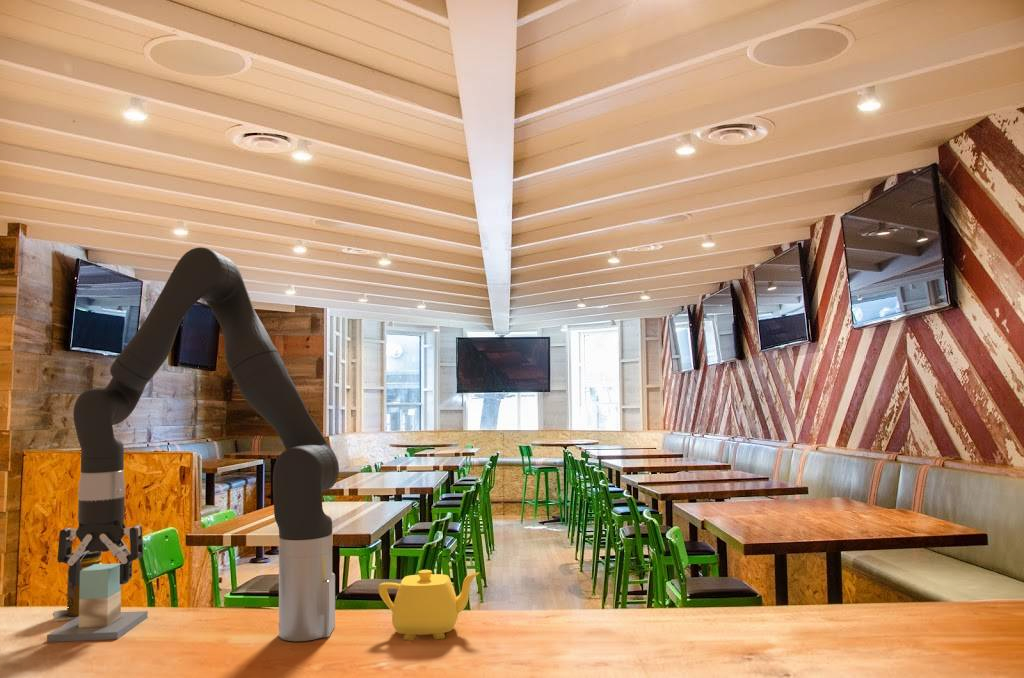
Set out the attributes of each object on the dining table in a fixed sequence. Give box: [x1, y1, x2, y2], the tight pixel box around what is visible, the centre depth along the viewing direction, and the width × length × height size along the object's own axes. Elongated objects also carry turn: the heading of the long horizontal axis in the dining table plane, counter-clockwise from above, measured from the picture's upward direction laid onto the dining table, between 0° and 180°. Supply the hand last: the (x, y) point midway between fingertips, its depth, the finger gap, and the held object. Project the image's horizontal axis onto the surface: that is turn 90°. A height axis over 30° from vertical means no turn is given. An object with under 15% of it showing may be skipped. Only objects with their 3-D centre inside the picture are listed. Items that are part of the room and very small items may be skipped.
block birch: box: [79, 590, 122, 627], centre depth 133 cm, size 5×5×5 cm
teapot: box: [377, 569, 480, 641], centre depth 128 cm, size 18×11×11 cm, turn 92°
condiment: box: [53, 551, 103, 623], centre depth 143 cm, size 7×8×12 cm
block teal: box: [79, 562, 122, 599], centre depth 133 cm, size 5×5×5 cm
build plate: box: [46, 610, 149, 643], centre depth 133 cm, size 12×12×1 cm
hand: (100, 584), depth 133 cm, fingers open, 8 cm apart
